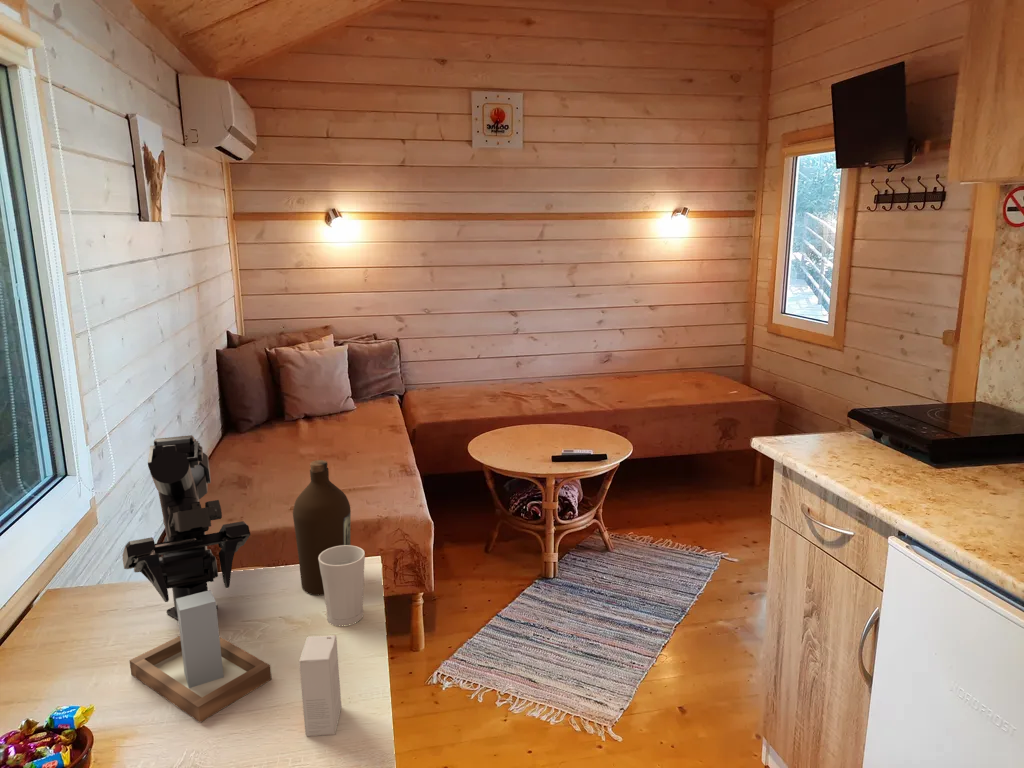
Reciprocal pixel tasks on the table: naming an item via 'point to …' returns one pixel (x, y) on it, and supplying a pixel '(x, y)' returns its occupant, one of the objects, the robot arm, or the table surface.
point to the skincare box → (320, 685)
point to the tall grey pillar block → (199, 638)
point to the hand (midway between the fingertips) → (198, 594)
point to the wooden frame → (204, 700)
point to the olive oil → (319, 524)
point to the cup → (343, 583)
